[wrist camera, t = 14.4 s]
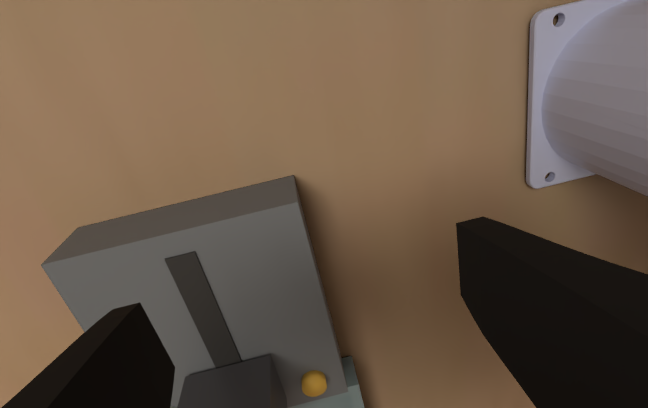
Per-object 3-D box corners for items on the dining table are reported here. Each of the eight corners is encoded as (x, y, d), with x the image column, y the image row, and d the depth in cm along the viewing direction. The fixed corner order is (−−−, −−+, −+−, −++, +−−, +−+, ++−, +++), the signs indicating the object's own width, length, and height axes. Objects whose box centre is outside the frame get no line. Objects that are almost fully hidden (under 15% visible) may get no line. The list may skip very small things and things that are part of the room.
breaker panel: (293, 175, 17) (298, 207, 14) (338, 347, 22) (350, 400, 19) (77, 227, 17) (33, 272, 14) (170, 390, 22) (153, 451, 19)
